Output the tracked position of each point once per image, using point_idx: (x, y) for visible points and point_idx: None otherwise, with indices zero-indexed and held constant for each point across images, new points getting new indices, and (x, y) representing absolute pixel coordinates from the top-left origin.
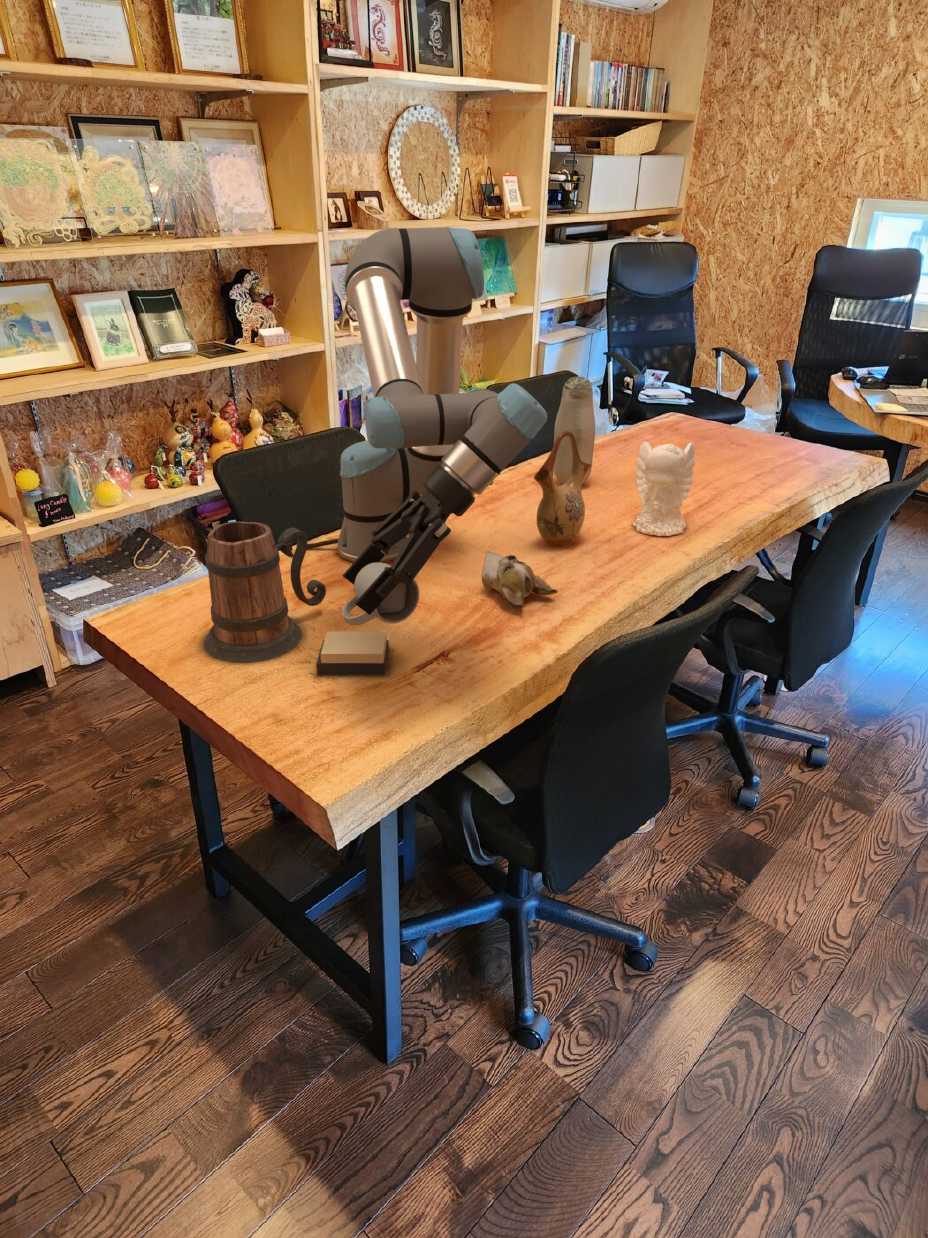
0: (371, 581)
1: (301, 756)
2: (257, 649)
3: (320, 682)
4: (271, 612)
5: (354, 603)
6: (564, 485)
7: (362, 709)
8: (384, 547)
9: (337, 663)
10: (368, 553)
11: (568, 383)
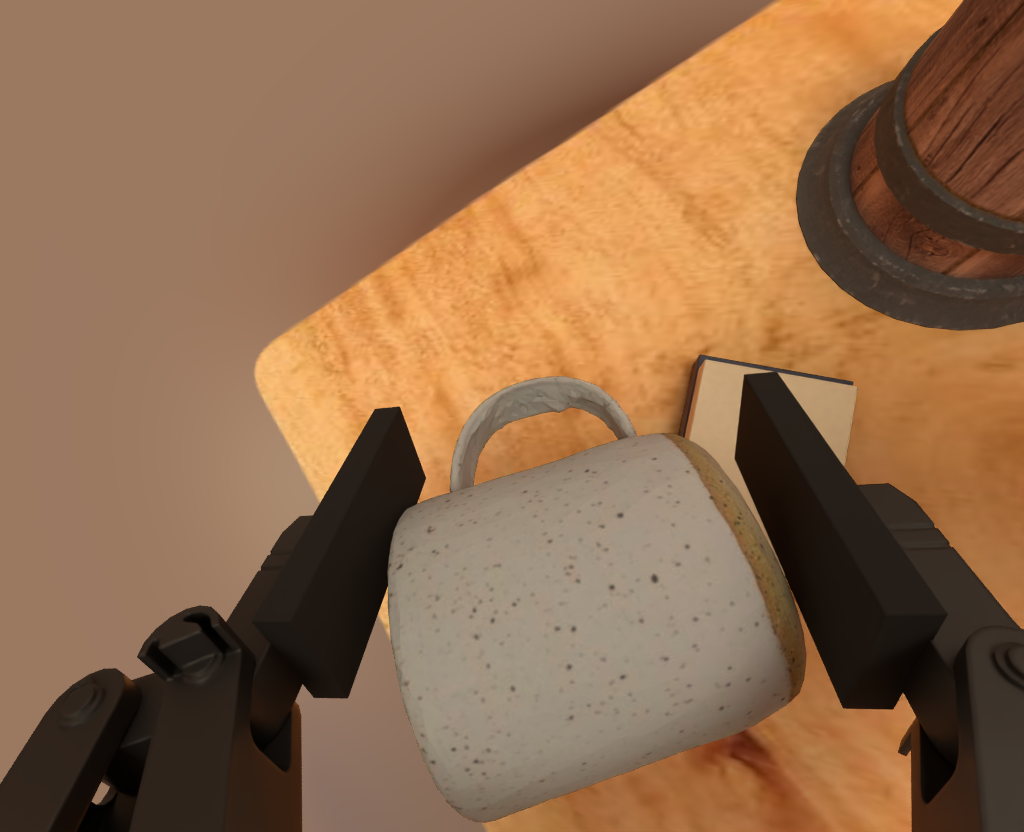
0: (494, 517)
1: (380, 322)
2: (829, 200)
3: (654, 370)
4: (949, 183)
5: (621, 437)
6: None
7: (509, 459)
8: (935, 751)
9: (688, 411)
10: (833, 560)
11: None
